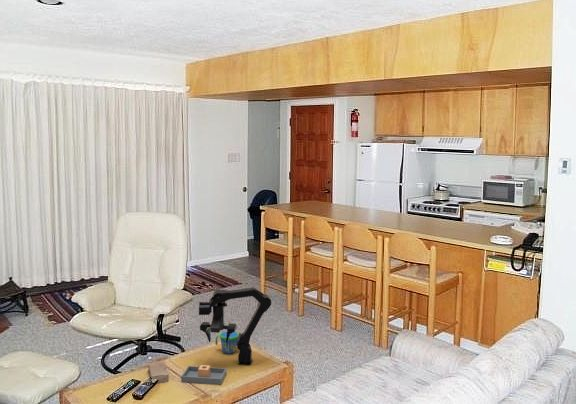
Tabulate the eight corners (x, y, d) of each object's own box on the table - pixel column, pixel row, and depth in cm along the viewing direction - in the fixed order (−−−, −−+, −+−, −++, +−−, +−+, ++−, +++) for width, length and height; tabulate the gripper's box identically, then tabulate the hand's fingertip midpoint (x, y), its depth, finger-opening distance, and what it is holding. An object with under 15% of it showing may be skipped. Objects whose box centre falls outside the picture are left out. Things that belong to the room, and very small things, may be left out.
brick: (168, 382, 259) (168, 373, 258) (151, 384, 256) (151, 375, 255) (164, 368, 274) (164, 360, 274) (148, 370, 271) (148, 362, 271)
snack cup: (245, 349, 299) (245, 332, 298) (238, 357, 289) (238, 339, 288) (220, 346, 304) (220, 329, 302) (212, 353, 293) (212, 335, 292)
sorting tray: (226, 374, 268) (226, 368, 268) (220, 384, 256) (220, 379, 256) (188, 371, 270) (188, 365, 270) (181, 382, 259) (181, 376, 258)
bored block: (210, 374, 265) (210, 365, 265) (207, 379, 261) (207, 369, 260) (200, 374, 266) (200, 364, 265) (198, 378, 261) (198, 369, 260)
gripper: (196, 318, 269) (196, 347, 271) (232, 320, 267) (232, 349, 269) (202, 311, 280) (202, 339, 282) (236, 313, 278) (236, 341, 280)
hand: (218, 342), depth 278 cm, fingers open, 9 cm apart
